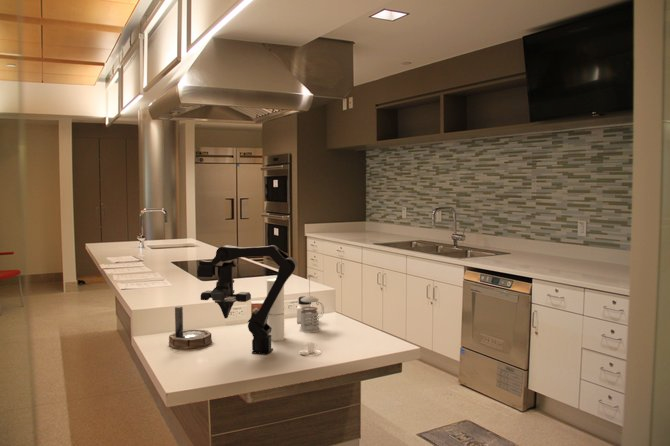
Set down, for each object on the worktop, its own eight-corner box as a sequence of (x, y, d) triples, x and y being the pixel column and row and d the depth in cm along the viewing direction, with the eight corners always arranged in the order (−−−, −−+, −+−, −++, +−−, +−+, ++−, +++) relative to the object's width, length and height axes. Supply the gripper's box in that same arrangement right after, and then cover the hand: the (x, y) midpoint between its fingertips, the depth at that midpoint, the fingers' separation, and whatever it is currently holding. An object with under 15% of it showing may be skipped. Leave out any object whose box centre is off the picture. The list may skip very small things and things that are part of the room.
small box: (251, 332, 236) (250, 303, 235) (251, 329, 242) (251, 300, 241) (269, 331, 237) (269, 302, 236) (269, 328, 243) (269, 299, 242)
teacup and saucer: (300, 357, 201) (300, 347, 201) (296, 351, 209) (296, 341, 209) (323, 355, 204) (323, 345, 203) (318, 349, 211) (318, 339, 211)
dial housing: (218, 338, 226) (218, 329, 226) (200, 350, 209) (199, 340, 209) (181, 336, 230) (181, 327, 229) (160, 347, 213) (160, 338, 213)
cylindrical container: (285, 336, 229) (285, 278, 228) (282, 340, 222) (282, 281, 221) (269, 335, 230) (268, 278, 229) (265, 340, 223) (264, 281, 222)
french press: (295, 328, 242) (295, 273, 241) (319, 325, 247) (318, 272, 246) (303, 333, 233) (303, 276, 232) (327, 330, 238) (327, 275, 237)
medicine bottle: (312, 323, 252) (311, 298, 251) (296, 323, 252) (296, 298, 251) (312, 319, 259) (312, 295, 258) (298, 319, 259) (298, 295, 258)
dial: (210, 341, 217) (209, 307, 217) (179, 346, 211) (178, 310, 210) (200, 334, 228) (200, 301, 227) (170, 338, 221) (170, 305, 221)
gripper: (193, 280, 201) (194, 321, 202) (239, 282, 197) (240, 324, 198) (206, 276, 212) (207, 315, 213) (251, 277, 208) (251, 317, 209)
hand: (226, 318), depth 208 cm, fingers closed
